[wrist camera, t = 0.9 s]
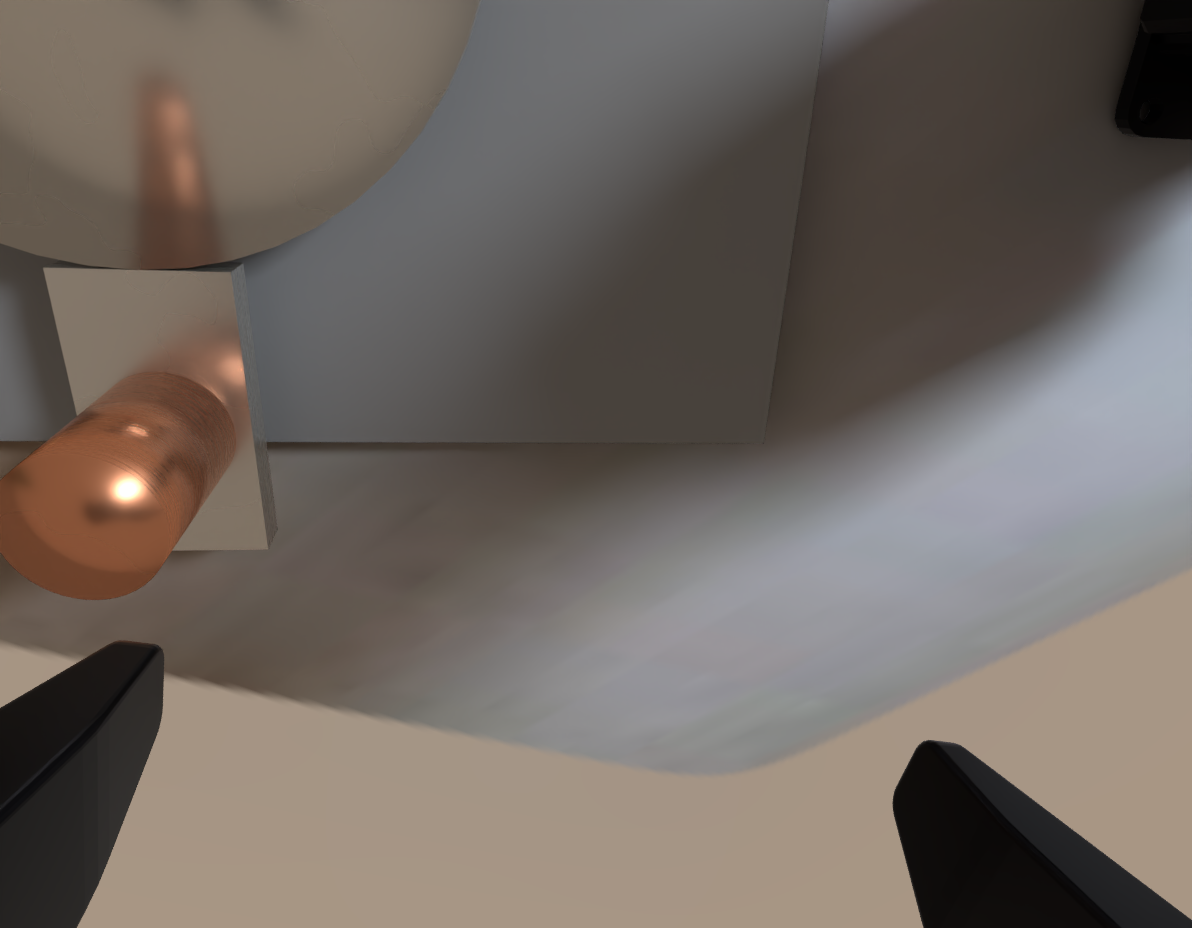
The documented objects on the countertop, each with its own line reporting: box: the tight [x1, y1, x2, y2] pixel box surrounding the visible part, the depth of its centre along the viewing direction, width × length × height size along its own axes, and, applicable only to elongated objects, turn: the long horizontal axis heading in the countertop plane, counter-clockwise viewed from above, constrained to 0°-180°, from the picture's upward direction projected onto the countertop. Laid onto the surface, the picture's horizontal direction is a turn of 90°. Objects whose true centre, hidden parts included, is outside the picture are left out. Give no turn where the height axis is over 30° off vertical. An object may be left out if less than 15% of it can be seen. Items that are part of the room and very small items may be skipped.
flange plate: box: [0, 0, 481, 600], centre depth 11 cm, size 18×12×4 cm
